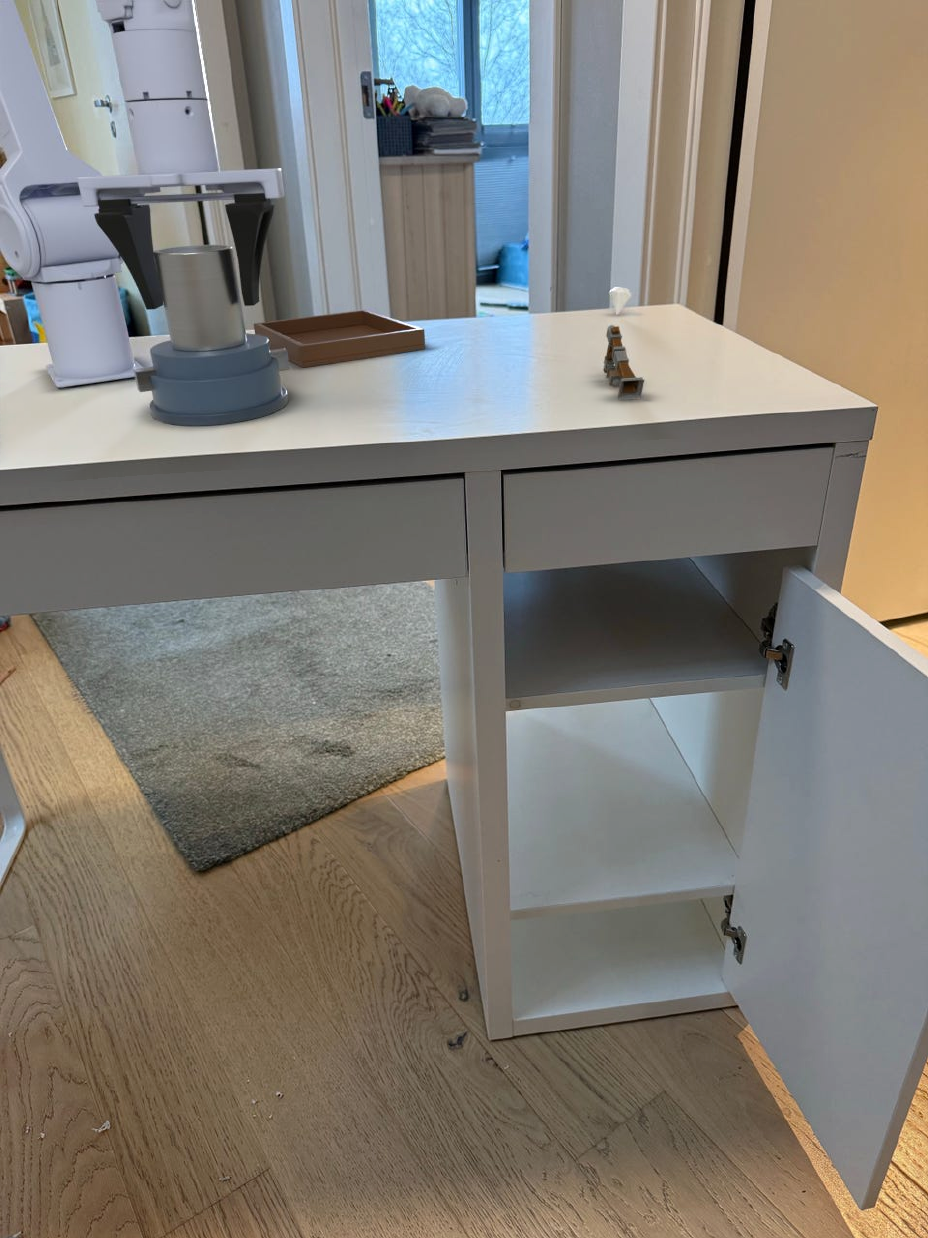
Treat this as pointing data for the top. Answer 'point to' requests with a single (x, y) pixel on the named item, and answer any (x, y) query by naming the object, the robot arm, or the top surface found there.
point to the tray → (340, 337)
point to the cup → (201, 297)
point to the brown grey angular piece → (620, 367)
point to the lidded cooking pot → (214, 383)
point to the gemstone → (620, 297)
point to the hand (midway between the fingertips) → (203, 305)
